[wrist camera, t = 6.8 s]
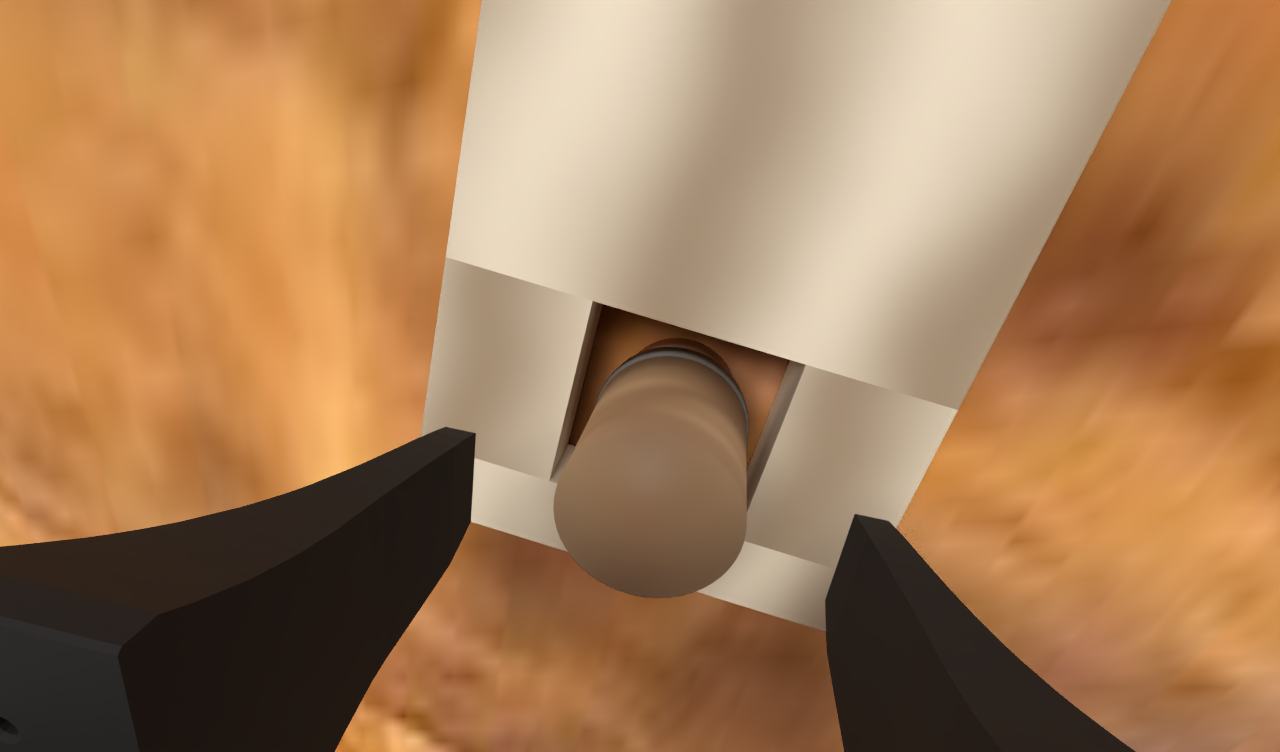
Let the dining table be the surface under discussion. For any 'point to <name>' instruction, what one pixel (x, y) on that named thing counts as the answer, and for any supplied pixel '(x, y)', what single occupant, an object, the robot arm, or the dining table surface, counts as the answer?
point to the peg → (659, 475)
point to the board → (762, 231)
